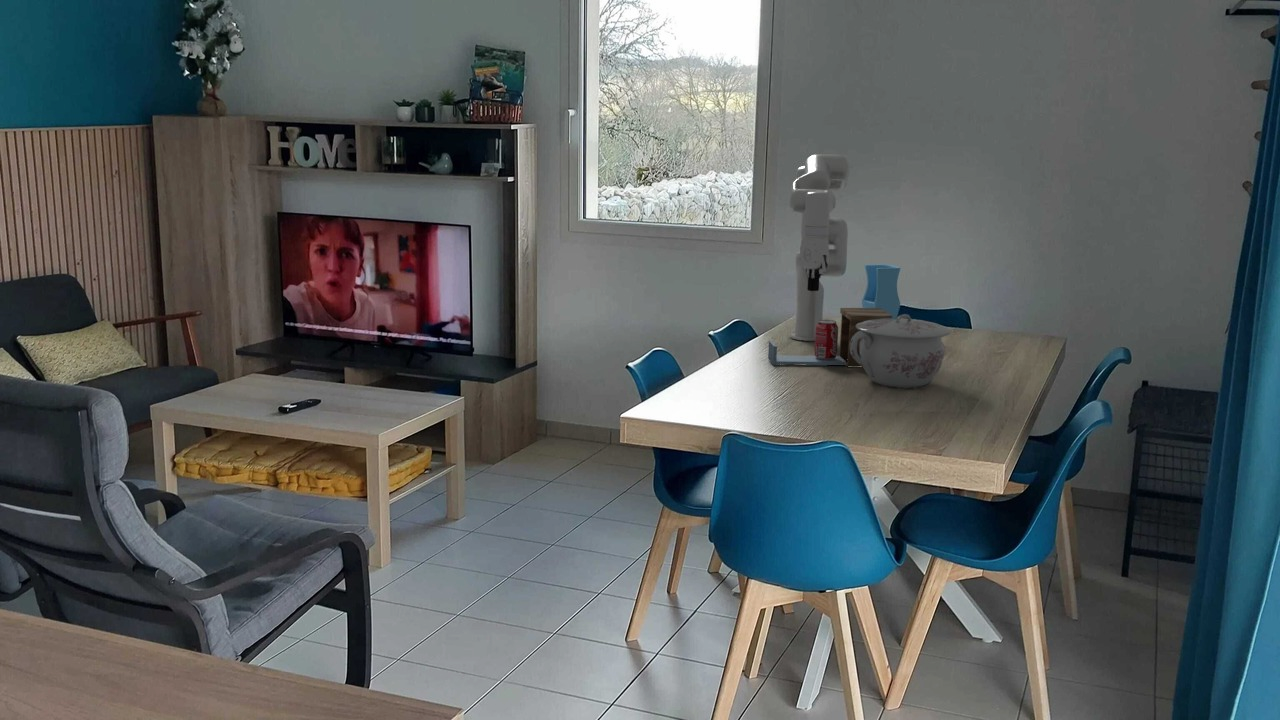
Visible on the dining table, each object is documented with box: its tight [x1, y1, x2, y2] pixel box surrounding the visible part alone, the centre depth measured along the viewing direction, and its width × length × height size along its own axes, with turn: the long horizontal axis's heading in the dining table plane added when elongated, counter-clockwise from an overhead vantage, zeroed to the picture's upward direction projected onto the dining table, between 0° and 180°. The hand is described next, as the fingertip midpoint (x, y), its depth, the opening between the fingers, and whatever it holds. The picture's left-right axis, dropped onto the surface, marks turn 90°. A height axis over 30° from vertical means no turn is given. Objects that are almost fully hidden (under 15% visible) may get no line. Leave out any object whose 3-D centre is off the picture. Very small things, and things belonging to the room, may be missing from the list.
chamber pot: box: [849, 313, 952, 389], centre depth 335 cm, size 28×28×21 cm
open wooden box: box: [838, 307, 892, 367], centre depth 362 cm, size 14×13×17 cm
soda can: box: [814, 319, 839, 360], centre depth 362 cm, size 7×7×12 cm
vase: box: [861, 263, 901, 318], centre depth 408 cm, size 10×10×25 cm
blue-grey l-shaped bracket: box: [767, 340, 847, 366], centre depth 362 cm, size 9×23×6 cm, turn 93°
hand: (813, 290), depth 358 cm, fingers closed
